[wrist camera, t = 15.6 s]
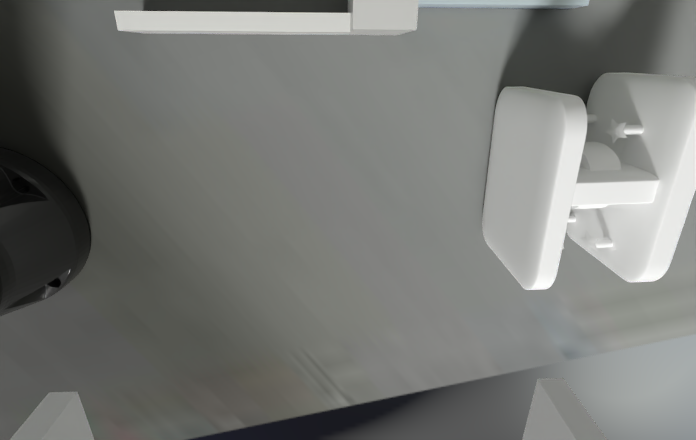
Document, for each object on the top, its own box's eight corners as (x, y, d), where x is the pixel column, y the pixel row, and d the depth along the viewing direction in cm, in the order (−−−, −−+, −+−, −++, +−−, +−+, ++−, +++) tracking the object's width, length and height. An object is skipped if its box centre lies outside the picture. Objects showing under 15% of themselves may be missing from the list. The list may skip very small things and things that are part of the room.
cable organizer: (494, 74, 34) (570, 83, 23) (615, 70, 34) (746, 78, 23) (475, 233, 39) (529, 300, 29) (579, 229, 40) (670, 294, 29)
